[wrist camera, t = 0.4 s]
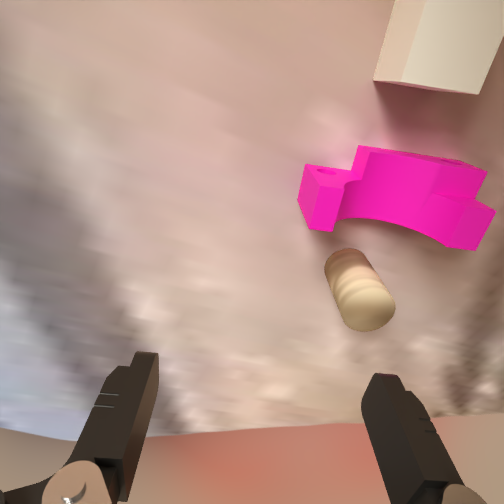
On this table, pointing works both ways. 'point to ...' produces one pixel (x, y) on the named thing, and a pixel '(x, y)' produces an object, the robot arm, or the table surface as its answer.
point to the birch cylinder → (358, 291)
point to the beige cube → (441, 44)
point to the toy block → (400, 195)
